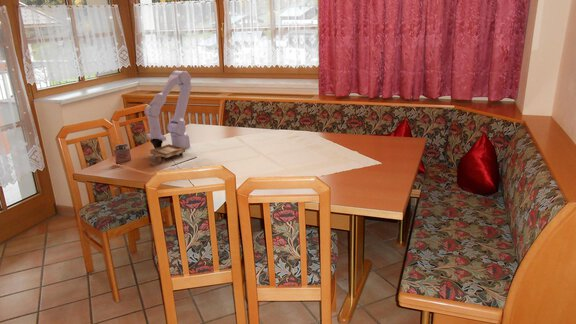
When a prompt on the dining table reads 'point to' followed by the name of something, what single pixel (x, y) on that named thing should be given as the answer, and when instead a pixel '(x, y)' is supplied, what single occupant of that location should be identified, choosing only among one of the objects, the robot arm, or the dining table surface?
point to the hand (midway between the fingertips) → (158, 151)
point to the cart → (167, 151)
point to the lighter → (122, 153)
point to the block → (155, 159)
